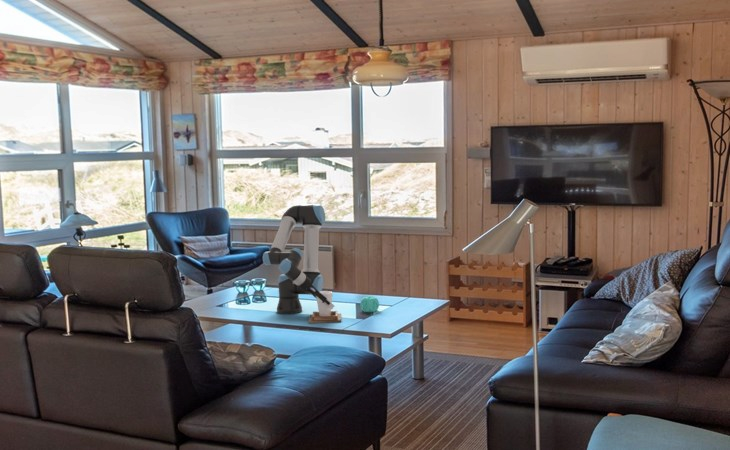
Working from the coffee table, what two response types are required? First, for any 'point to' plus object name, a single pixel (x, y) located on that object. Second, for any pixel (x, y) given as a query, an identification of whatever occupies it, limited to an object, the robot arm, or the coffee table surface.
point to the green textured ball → (369, 304)
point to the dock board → (325, 318)
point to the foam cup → (322, 307)
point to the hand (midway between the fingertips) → (329, 306)
